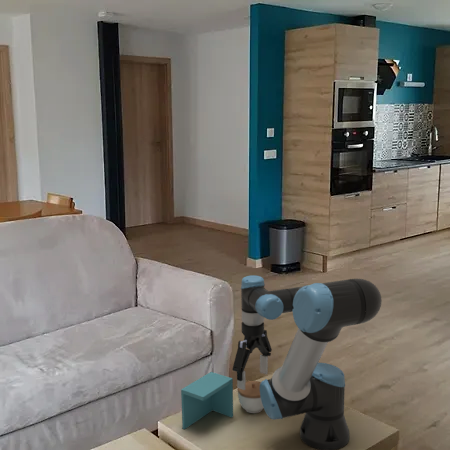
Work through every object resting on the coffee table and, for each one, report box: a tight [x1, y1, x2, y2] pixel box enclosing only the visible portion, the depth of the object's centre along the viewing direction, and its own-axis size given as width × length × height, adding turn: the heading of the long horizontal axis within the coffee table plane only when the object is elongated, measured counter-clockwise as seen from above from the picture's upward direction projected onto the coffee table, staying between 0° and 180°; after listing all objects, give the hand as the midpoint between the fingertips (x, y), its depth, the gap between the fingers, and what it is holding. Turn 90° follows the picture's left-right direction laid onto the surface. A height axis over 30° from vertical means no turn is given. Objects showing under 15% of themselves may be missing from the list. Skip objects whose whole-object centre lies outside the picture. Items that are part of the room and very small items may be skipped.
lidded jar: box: [237, 380, 264, 414], centre depth 203 cm, size 11×11×9 cm
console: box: [180, 371, 234, 430], centre depth 194 cm, size 9×16×14 cm, turn 144°
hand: (252, 380), depth 202 cm, fingers open, 13 cm apart
